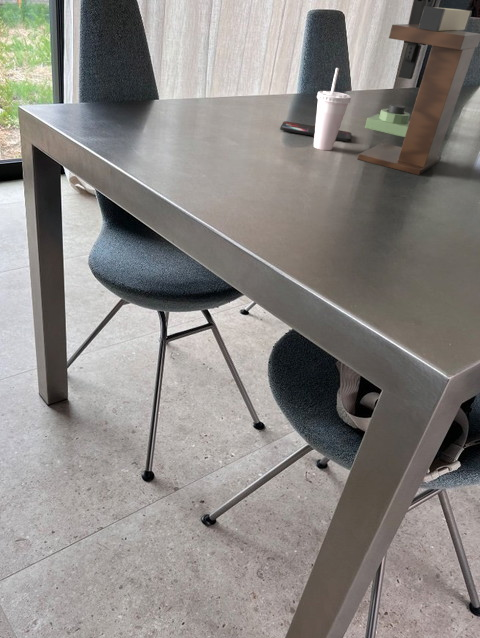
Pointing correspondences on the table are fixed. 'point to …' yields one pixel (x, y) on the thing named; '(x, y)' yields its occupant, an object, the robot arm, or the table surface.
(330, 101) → the smoothie
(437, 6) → the robot arm
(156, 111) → the table surface
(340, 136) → the smartphone
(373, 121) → the switch box
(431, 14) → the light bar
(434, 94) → the shelf
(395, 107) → the button
